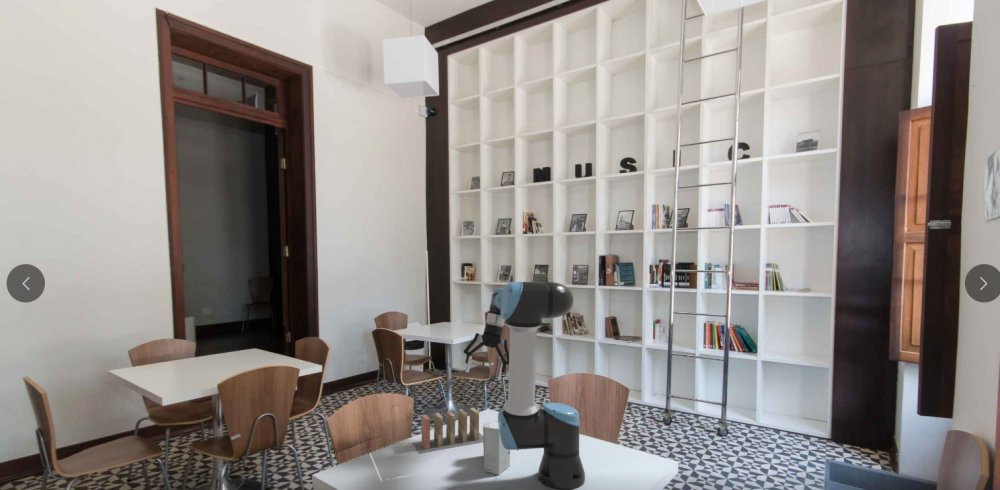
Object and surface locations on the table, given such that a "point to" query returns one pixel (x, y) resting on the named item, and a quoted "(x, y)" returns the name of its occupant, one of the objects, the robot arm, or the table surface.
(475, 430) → the domino
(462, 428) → the domino
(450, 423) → the domino
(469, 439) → the mat
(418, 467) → the table surface
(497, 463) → the skincare box
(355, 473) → the table surface
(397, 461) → the table surface
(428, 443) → the domino
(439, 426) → the domino
